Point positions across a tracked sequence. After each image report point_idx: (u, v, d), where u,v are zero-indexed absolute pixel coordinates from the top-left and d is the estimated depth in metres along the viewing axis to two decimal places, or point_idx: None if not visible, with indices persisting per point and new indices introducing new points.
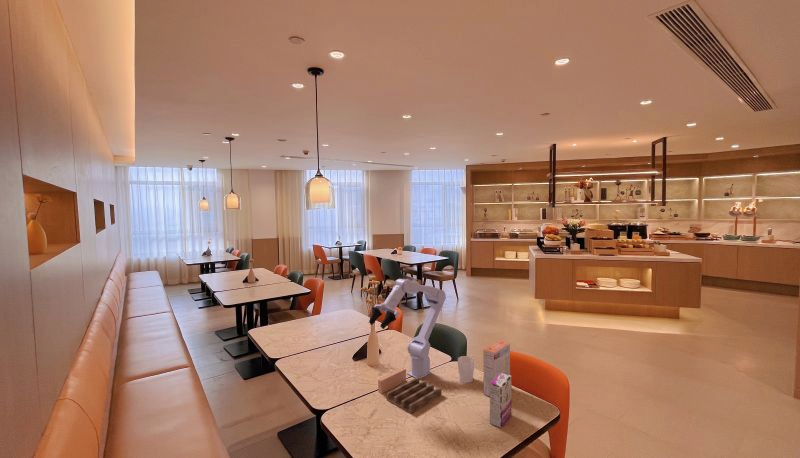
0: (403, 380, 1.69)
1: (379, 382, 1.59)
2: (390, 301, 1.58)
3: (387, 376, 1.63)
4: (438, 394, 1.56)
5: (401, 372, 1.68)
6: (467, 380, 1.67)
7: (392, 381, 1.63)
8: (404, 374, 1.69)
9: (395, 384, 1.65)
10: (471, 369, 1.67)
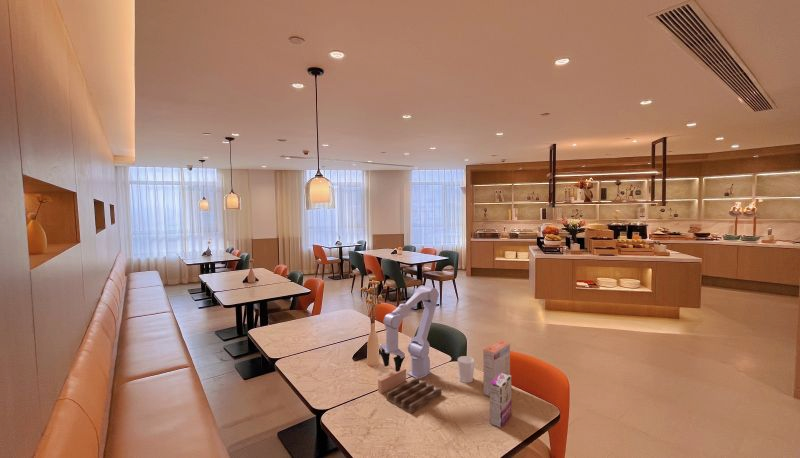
0: (403, 380, 1.69)
1: (379, 382, 1.59)
2: (390, 345, 1.61)
3: (387, 376, 1.63)
4: (438, 394, 1.56)
5: (401, 372, 1.68)
6: (467, 380, 1.67)
7: (392, 381, 1.63)
8: (404, 374, 1.69)
9: (395, 384, 1.65)
10: (471, 369, 1.67)
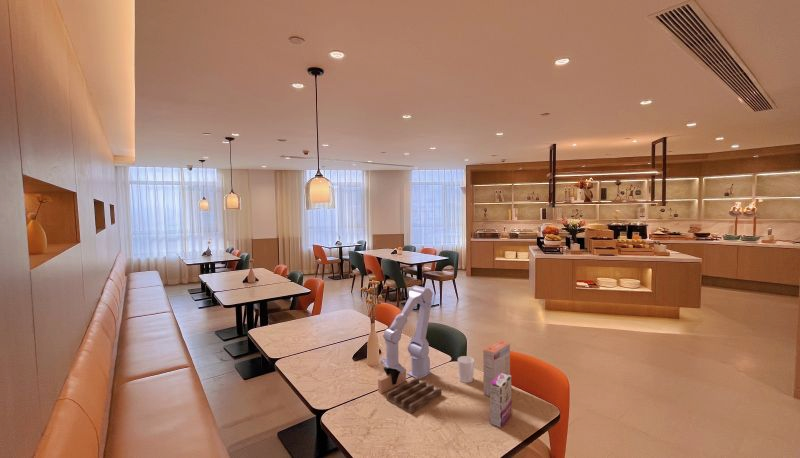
0: (403, 380, 1.69)
1: (379, 382, 1.59)
2: (391, 360, 1.62)
3: (387, 376, 1.63)
4: (438, 394, 1.56)
5: None
6: (467, 380, 1.67)
7: None
8: (404, 374, 1.69)
9: (395, 384, 1.65)
10: (471, 369, 1.67)
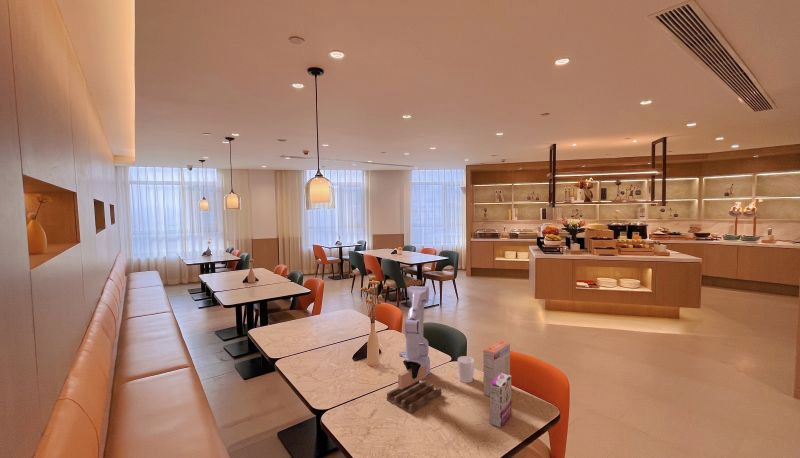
0: (424, 375, 1.59)
1: (399, 377, 1.50)
2: (411, 353, 1.52)
3: (407, 371, 1.53)
4: (438, 394, 1.56)
5: (422, 367, 1.58)
6: (467, 380, 1.67)
7: None
8: (425, 369, 1.60)
9: (415, 379, 1.56)
10: (471, 369, 1.67)
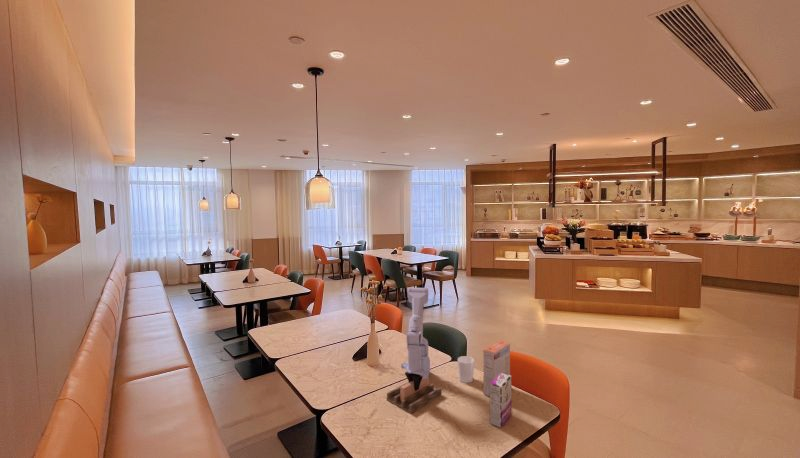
0: None
1: (401, 390, 1.50)
2: (413, 365, 1.51)
3: (409, 383, 1.53)
4: (438, 394, 1.56)
5: (424, 379, 1.58)
6: (467, 380, 1.67)
7: None
8: (426, 381, 1.59)
9: None
10: (471, 369, 1.67)
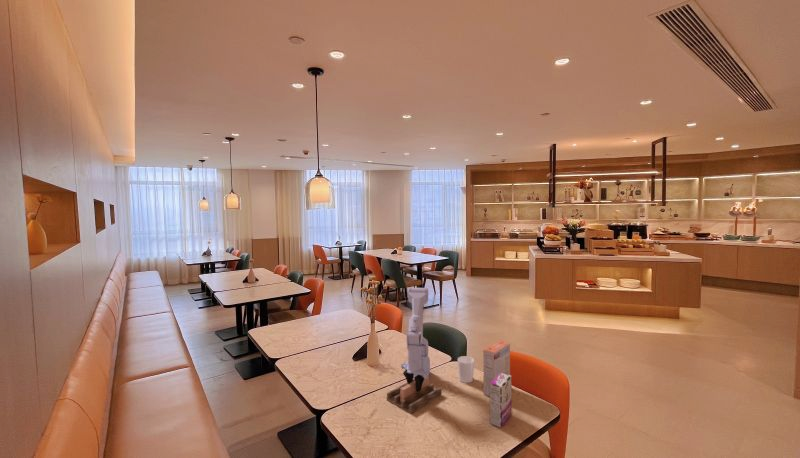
0: None
1: (401, 391, 1.50)
2: (413, 365, 1.51)
3: (409, 385, 1.53)
4: (438, 394, 1.56)
5: None
6: (467, 380, 1.67)
7: (414, 390, 1.54)
8: (426, 382, 1.59)
9: None
10: (471, 369, 1.67)
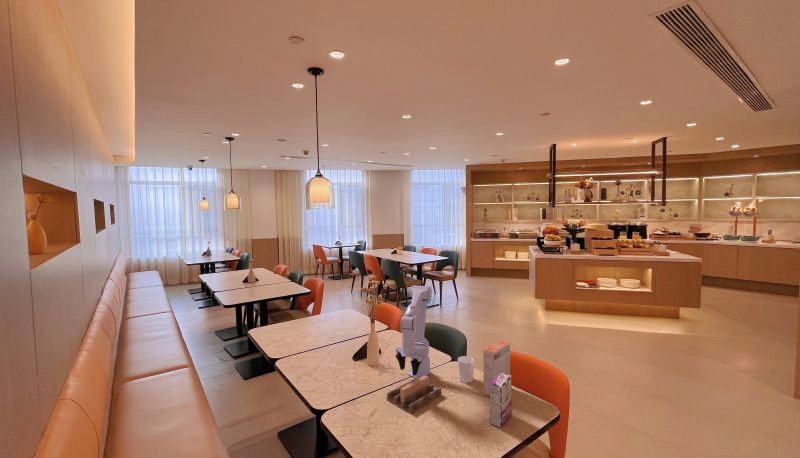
0: None
1: (401, 391, 1.50)
2: (407, 348, 1.56)
3: (409, 385, 1.53)
4: (438, 394, 1.56)
5: (423, 380, 1.58)
6: (467, 380, 1.67)
7: (414, 390, 1.54)
8: (426, 382, 1.59)
9: None
10: (471, 369, 1.67)
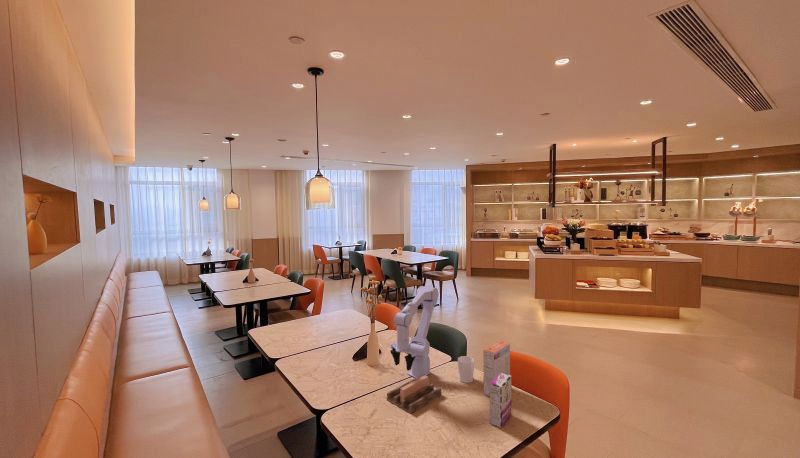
0: None
1: (401, 391, 1.50)
2: (401, 344, 1.60)
3: (409, 385, 1.53)
4: (438, 394, 1.56)
5: (423, 380, 1.58)
6: (467, 380, 1.67)
7: (414, 390, 1.54)
8: (426, 382, 1.59)
9: None
10: (471, 369, 1.67)
